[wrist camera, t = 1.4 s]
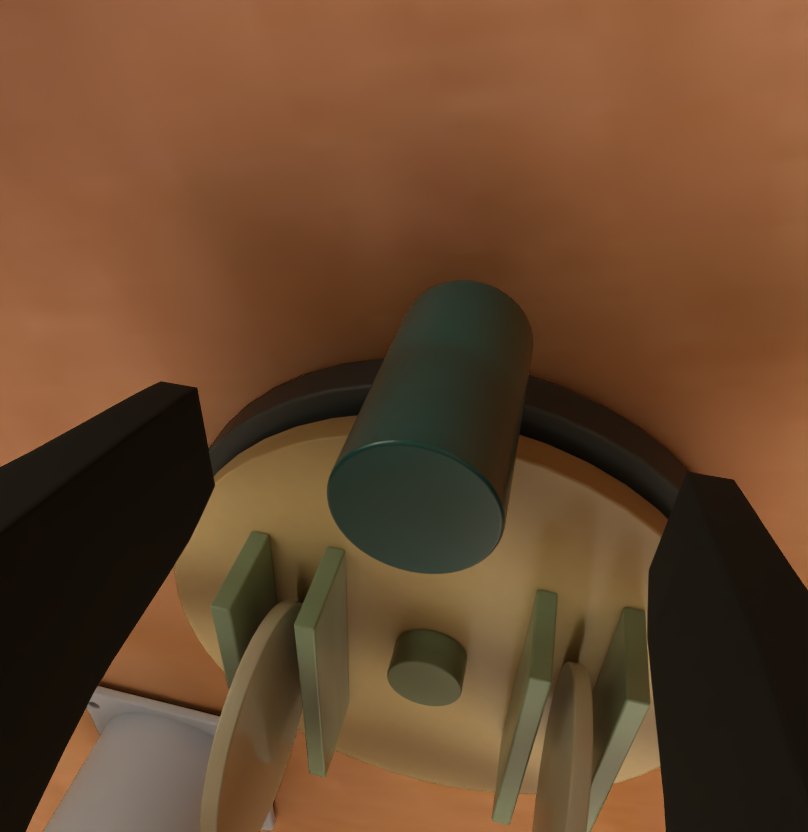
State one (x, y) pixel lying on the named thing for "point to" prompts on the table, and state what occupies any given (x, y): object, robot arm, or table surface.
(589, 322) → the table surface
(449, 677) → the plate rack
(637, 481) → the turntable base
